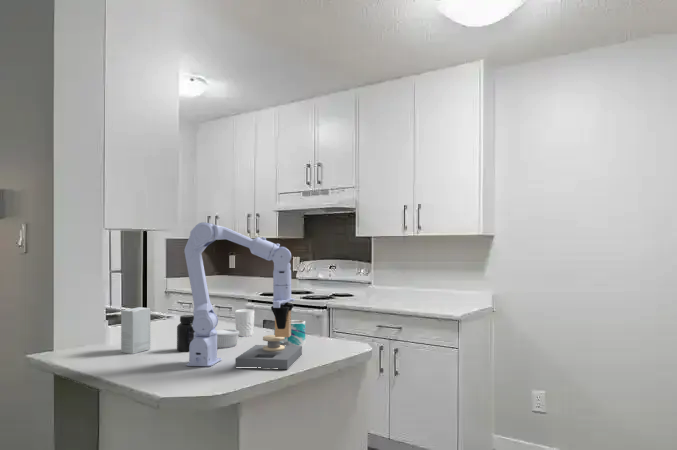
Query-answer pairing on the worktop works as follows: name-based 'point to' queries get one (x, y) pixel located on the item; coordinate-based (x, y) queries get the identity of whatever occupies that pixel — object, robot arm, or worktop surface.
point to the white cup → (244, 322)
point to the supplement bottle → (185, 333)
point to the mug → (296, 334)
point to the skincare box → (135, 330)
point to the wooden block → (287, 330)
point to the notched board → (270, 354)
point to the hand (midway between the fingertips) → (282, 327)
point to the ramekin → (227, 338)
